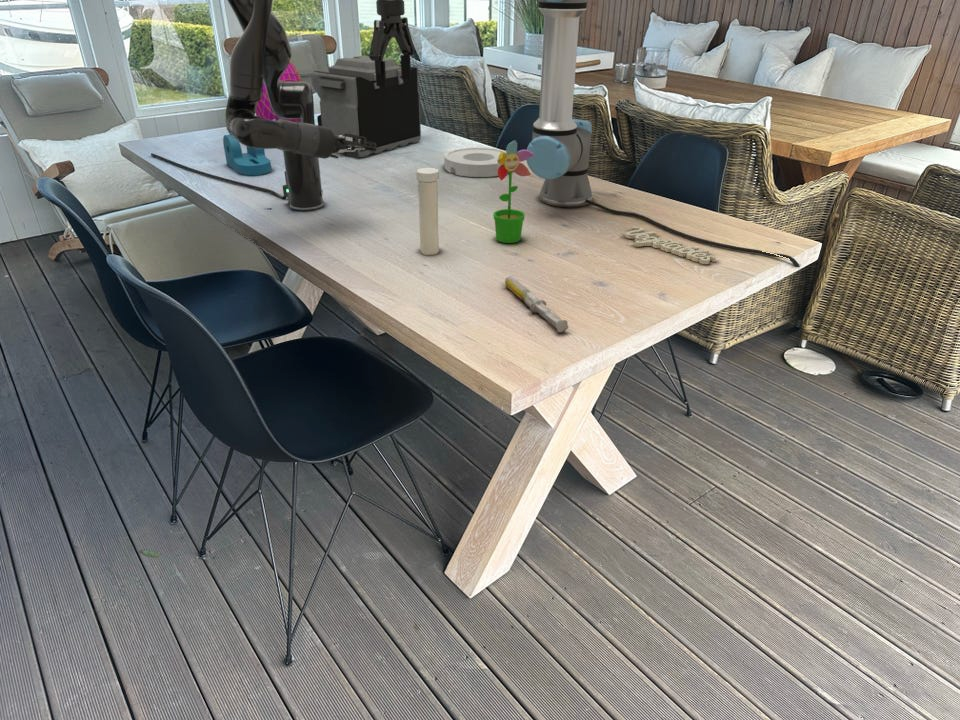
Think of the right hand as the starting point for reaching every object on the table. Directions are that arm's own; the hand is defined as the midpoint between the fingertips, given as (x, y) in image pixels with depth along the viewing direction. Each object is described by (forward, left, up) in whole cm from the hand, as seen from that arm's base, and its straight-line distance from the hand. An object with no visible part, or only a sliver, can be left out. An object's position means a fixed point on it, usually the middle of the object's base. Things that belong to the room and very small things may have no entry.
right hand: (394, 83), depth 195 cm
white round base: (-11, -33, -31) cm, 47 cm away
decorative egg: (+72, -35, -31) cm, 86 cm away
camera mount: (+56, +2, -31) cm, 64 cm away
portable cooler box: (+38, -43, -31) cm, 65 cm away
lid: (-33, +41, -11) cm, 54 cm away
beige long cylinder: (-33, +41, -31) cm, 61 cm away
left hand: (-7, +26, -13) cm, 30 cm away
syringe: (-67, +59, -31) cm, 94 cm away
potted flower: (-47, +25, -31) cm, 61 cm away
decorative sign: (-84, +13, -31) cm, 91 cm away
